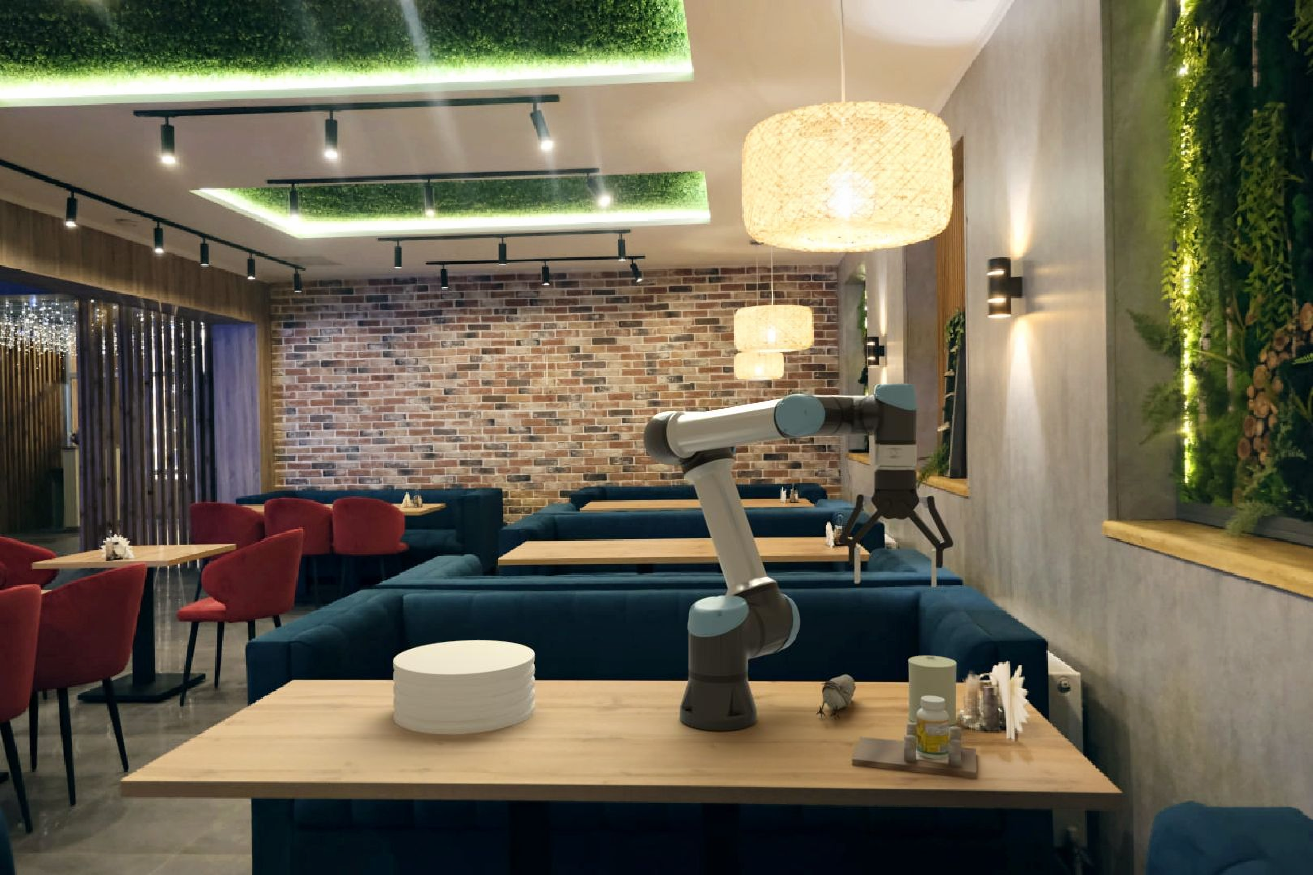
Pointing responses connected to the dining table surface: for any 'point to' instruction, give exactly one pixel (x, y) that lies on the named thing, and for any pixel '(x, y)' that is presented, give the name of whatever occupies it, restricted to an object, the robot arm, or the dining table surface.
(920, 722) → the supplement bottle
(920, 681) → the can
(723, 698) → the robot arm
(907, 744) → the pin nest
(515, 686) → the plate stack
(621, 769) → the dining table surface
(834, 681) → the decorative bird
